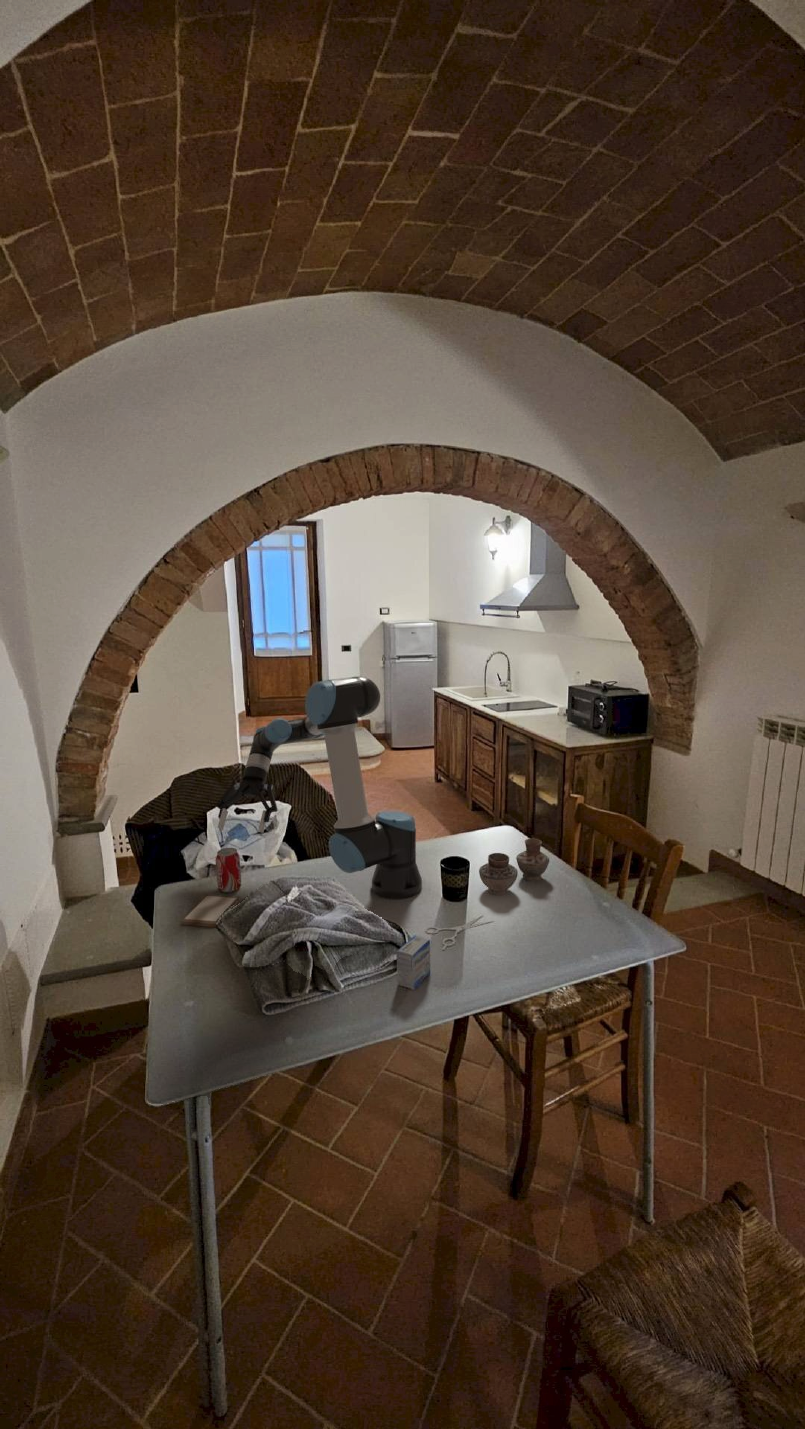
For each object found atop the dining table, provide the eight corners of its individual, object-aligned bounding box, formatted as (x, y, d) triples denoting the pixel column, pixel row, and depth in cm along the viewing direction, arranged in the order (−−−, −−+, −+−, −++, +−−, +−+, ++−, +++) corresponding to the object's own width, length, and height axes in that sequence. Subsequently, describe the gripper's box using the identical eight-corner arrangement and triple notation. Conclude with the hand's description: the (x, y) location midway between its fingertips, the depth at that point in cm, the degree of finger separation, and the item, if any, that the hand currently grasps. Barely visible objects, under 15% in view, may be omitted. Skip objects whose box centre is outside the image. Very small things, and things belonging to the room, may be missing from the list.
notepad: (239, 900, 182) (239, 896, 181) (215, 927, 167) (215, 923, 167) (207, 897, 183) (207, 894, 183) (181, 924, 169) (180, 920, 169)
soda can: (238, 894, 185) (235, 856, 183) (214, 894, 186) (211, 856, 183) (244, 883, 192) (242, 846, 190) (221, 883, 192) (219, 846, 190)
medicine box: (413, 991, 139) (413, 956, 138) (396, 984, 142) (396, 950, 140) (431, 972, 146) (430, 939, 144) (414, 967, 148) (414, 933, 146)
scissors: (418, 931, 163) (477, 908, 174) (418, 933, 163) (477, 910, 174) (443, 949, 155) (503, 924, 165) (443, 952, 155) (503, 927, 166)
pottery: (556, 879, 192) (558, 843, 189) (497, 903, 177) (498, 864, 175) (529, 867, 201) (530, 831, 198) (471, 889, 187) (471, 851, 184)
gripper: (295, 777, 209) (281, 836, 197) (225, 774, 213) (208, 832, 201) (289, 766, 202) (274, 827, 191) (217, 763, 207) (198, 822, 195)
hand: (240, 830), depth 196 cm, fingers open, 13 cm apart
